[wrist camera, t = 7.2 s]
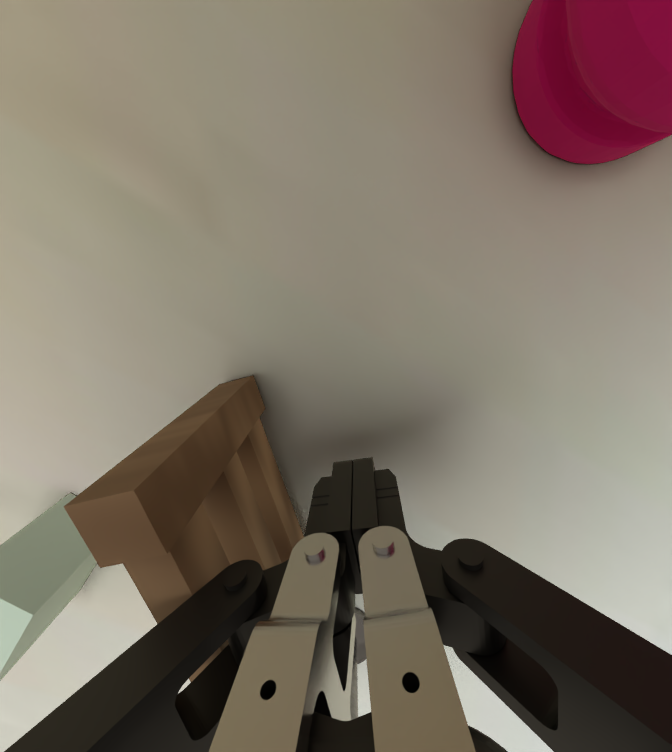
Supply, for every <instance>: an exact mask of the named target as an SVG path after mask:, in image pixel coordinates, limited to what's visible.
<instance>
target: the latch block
mask: <svg viewBox="0 0 672 752" xmlns="http://www.w3.org/2000/svg"><path fill="white" fill-rule="evenodd" d="M75 497H76V496H75V495H73V494H72V493H69V494H68V495H67V496H65V497H64V498H63V499H61V500H60V501H59V502H57V503H56V504H55V505H53V506H52V507H51V508H49V509H48V510H47V511H45V512H44V513H43V514H41V515H40V516H39V517H37V518H36V519H35V520H33V521H32V522H31V523H29V524H28V525H27V526H25V527H24V528H23V529H21V530H20V531H19V532H17V533H16V534H15V535H13V536H12V537H11V538H10V539H8V540H7V541H6V542H4V543H3V544H2V545H0V681H1V679H2V678H3V677H4V676H5V675H6V674H7V673H8V672H9V670H10V669H11V668H12V667H13V666H14V665H15V664H16V662H17V661H18V660H19V659H20V658H21V657H22V656H23V654H24V653H25V652H26V651H27V650H28V649H29V648H30V646H31V645H32V644H33V643H34V642H35V641H36V640H37V638H38V637H39V636H40V635H41V634H42V633H43V632H44V631H45V629H46V628H47V627H48V626H49V625H50V624H51V623H52V621H53V620H54V619H55V618H56V617H57V616H58V615H59V613H60V612H61V611H62V610H63V609H64V608H65V607H66V605H67V604H68V603H69V602H70V601H71V600H72V599H73V597H74V596H75V595H76V594H77V593H78V592H79V591H80V589H81V588H82V586H83V584H84V583H85V581H86V580H87V578H88V576H89V575H90V573H91V571H92V570H93V568H94V567H95V565H96V563H97V562H96V560H95V558H94V557H93V555H92V553H91V552H90V550H89V548H88V547H87V545H86V543H85V542H84V540H83V538H82V537H81V535H80V533H79V532H78V530H77V528H76V527H75V525H74V523H73V522H72V520H71V518H70V517H69V515H68V513H67V512H66V510H65V508H64V506H65V505H66V504H67V503H69V502H70V501H71V500H73V499H74V498H75Z"/></svg>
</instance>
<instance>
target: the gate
mask: <svg viewBox="0 0 672 752" xmlns="http://www.w3.org/2000/svg"><path fill="white" fill-rule="evenodd" d="M264 410H265V406H264V404H263V401H262V398H261V395H260V393H259V390H258V387H257V384H256V382H255V379H254V376H249V377H245V378H242V379H238V380H234V381H230V382H227V383H223V384H219V385H218V386H217V387H215V388H214V389H213V390H212V391H210V392H209V393H208V394H207V395H205V396H204V397H203V398H201V399H200V400H199V401H198V402H196V403H195V404H194V405H193V406H191V407H190V408H189V409H187V410H186V411H185V412H184V413H182V414H181V415H180V416H178V417H177V418H176V419H175V420H173V421H172V422H171V423H170V424H168V425H167V426H166V427H164V428H163V429H162V430H161V431H159V432H158V433H157V434H156V435H154V436H153V437H152V438H150V439H149V440H148V441H147V442H145V443H144V444H143V445H141V446H140V447H139V448H138V449H136V450H135V451H134V452H133V453H131V454H130V455H129V456H127V457H126V458H125V459H124V460H122V461H121V462H120V463H119V464H117V465H116V466H115V467H113V468H112V469H111V470H110V471H108V472H107V473H106V474H104V475H103V476H102V477H101V478H99V479H98V480H97V481H96V482H94V483H93V484H92V485H90V486H89V487H88V488H87V489H85V490H84V491H83V492H82V493H80V494H79V495H78V496H76V497H75V498H74V499H73V500H71V501H70V502H69V503H67V504H66V505H65V506H64V508H65V510H66V512H67V513H68V515H69V517H70V518H71V520H72V522H73V523H74V525H75V527H76V528H77V530H78V532H79V533H80V535H81V537H82V538H83V540H84V542H85V543H86V545H87V547H88V548H89V550H90V552H91V553H92V555H93V557H94V558H95V560H96V562H97V563H98V565H99V567H100V568H102V567H107V566H112V565H117V564H121V563H123V564H124V566H125V568H126V569H127V571H128V573H129V575H130V576H131V578H132V580H133V582H134V583H135V585H136V587H137V589H138V590H139V592H140V594H141V596H142V597H143V599H144V601H145V603H146V604H147V606H148V608H149V610H150V611H151V613H152V615H153V617H154V618H155V620H156V622H157V624H159V623H160V622H161V621H162V620H163V619H165V618H166V617H167V616H168V615H169V614H171V613H172V612H173V611H174V610H175V609H177V608H178V607H179V606H180V605H181V604H183V603H184V602H185V601H186V600H187V599H189V598H190V597H191V596H192V595H193V594H195V593H196V592H197V591H198V590H200V589H201V588H202V587H203V586H204V585H206V584H207V583H208V582H209V581H210V580H212V579H213V578H214V577H215V576H216V575H218V574H219V573H220V572H221V571H222V570H224V569H225V568H226V567H228V566H229V565H231V564H233V563H235V562H237V561H241V560H248V559H249V560H254V561H256V562H258V563H259V564H260V565H261V567H262V570H265V569H268V568H271V567H273V566H276V565H278V564H281V563H283V562H285V561H287V560H288V559H289V558H290V555H291V552H292V550H293V548H294V546H295V545H296V544H297V543H298V542H299V541H300V540H301V539H303V538H304V536H303V533H302V530H301V528H300V525H299V522H298V520H297V517H296V514H295V512H294V509H293V506H292V504H291V501H290V498H289V496H288V493H287V490H286V488H285V485H284V482H283V480H282V477H281V474H280V472H279V469H278V466H277V463H276V461H275V458H274V455H273V453H272V450H271V447H270V445H269V442H268V439H267V437H266V434H265V431H264V429H263V426H262V423H261V421H260V418H259V417H260V416H261V414H262V413H263V411H264ZM228 644H229V643H228V641H227V640H226V641H225V642H224V643H223V644H222V645H221V646H220V647H219V648H218V649H217V650H216V651H215V652H214V653H213V654H212V655H211V656H210V657H209V658H208V659H207V660H206V661H205V662H204V663H203V664H202V665H201V666H200V667H199V668H198V670H197V671H196V672H195V673H194V674H193V675H192V676H191V677H190V678H189V680H190V681H191V682H192V681H193V680H194V679H195V678H196V677H197V676H198V675H199V674H200V673H201V672H202V671H203V670H204V669H205V668H206V667H207V666H208V665H209V664H210V663H211V662H212V661H213V660H214V659H215V658H216V657H217V656H218V655H219V654H220V653H221V652H222V650H223V649H224V648H225V647H226V646H227V645H228Z"/></svg>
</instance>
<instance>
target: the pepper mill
mask: <svg viewBox="0 0 672 752" xmlns="http://www.w3.org/2000/svg"><path fill="white" fill-rule="evenodd" d="M512 73H513V93H514V97H515V101H516V105H517V109H518V113H519V115H520V118H521V120H522V122H523V124H524V126H525V128H526V130H527V132H528V133H529V135H530V136H531V137H532V138H533V139H534V140H535V141H536V142H537V143H538V144H539V145H540V146H541V147H542V148H543V149H544V150H545V151H547V152H548V153H550V154H552V155H554V156H556V157H559V158H561V159H564V160H566V161H569V162H574V163H582V164H595V163H604V162H608V161H612V160H616V159H618V158H621V157H624V156H627V155H629V154H631V153H633V152H635V151H638V150H640V149H642V148H644V147H646V146H649V145H651V144H653V143H655V142H657V141H660V140H662V139H664V138H666V137H668V136H670V135H672V0H533V1H532V3H531V5H530V7H529V9H528V12H527V14H526V16H525V19H524V21H523V24H522V26H521V28H520V31H519V34H518V38H517V43H516V47H515V51H514V60H513V70H512Z"/></svg>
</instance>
